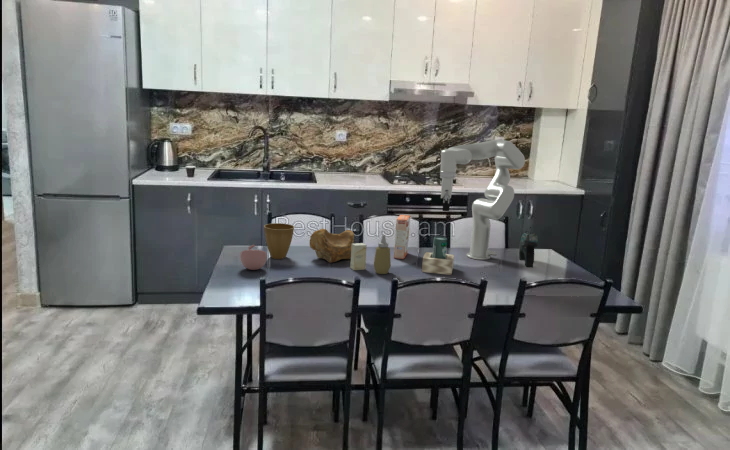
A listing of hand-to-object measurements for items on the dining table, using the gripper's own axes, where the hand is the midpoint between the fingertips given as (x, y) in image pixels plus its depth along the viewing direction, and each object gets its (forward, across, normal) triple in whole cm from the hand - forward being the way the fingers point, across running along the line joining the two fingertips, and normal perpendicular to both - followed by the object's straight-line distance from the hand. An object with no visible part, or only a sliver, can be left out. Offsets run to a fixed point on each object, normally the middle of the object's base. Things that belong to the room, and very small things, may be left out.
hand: (446, 209), depth 273 cm
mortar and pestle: (+25, +42, -85) cm, 98 cm away
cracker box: (+28, -6, -22) cm, 36 cm away
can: (+27, +14, -2) cm, 30 cm away
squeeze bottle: (+27, +28, -28) cm, 47 cm away
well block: (+28, +14, -2) cm, 31 cm away
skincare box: (+26, +25, -40) cm, 54 cm away
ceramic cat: (+30, -15, +42) cm, 54 cm away
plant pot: (+25, +19, -81) cm, 87 cm away
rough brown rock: (+26, +14, -54) cm, 62 cm away
